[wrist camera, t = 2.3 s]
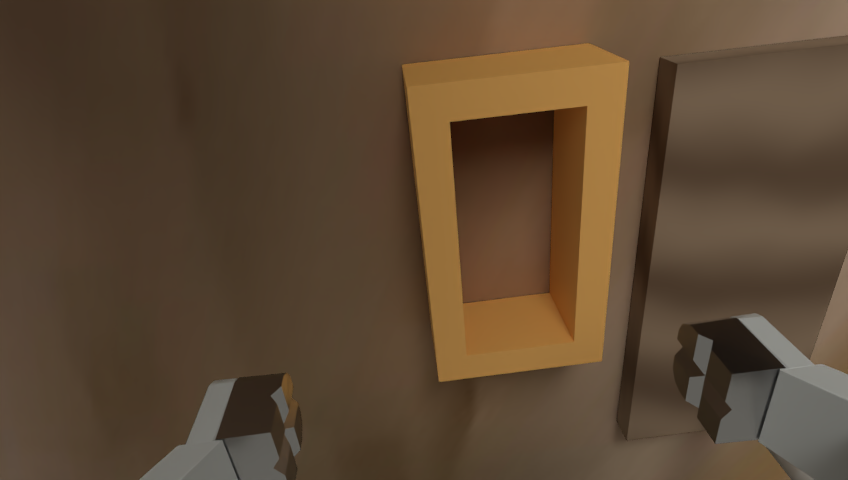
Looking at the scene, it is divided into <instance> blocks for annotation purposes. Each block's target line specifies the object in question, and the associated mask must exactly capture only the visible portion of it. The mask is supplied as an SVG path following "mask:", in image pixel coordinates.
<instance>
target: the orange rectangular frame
mask: <svg viewBox="0 0 848 480" xmlns="http://www.w3.org/2000/svg"><path fill="white" fill-rule="evenodd" d="M402 71H403V80H404V89H405V98H406V107H407V116H408V125H409V134H410V143H411V152H412V161H413V169H414V178H415V187H416V196H417V205H418V214H419V223H420V232H421V241H422V250H423V259H424V268H425V277H426V285H427V294H428V303H429V312H430V321H431V330H432V337H433V344H434V351H435V358H436V365H437V371H438V378H439V382H443V381H451V380H459V379H467V378H474V377H482V376H490V375H498V374H506V373H513V372H521V371H529V370H537V369H545V368H552V367H560V366H568V365H576V364H584V363H591V362H599V361H602V354H603V343H604V332H605V322H606V311H607V300H608V289H609V278H610V267H611V256H612V245H613V234H614V224H615V213H616V202H617V191H618V180H619V169H620V158H621V147H622V137H623V126H624V115H625V104H626V93H627V82H628V71H629V61H628V60H625V59H623V58H621V57H619V56H617V55H614V54H612V53H610V52H608V51H605V50H603V49H601V48H599V47H597V46H594V45H592V44H590V43H585V44H577V45H568V46H559V47H551V48H542V49H533V50H524V51H516V52H507V53H498V54H489V55H481V56H472V57H463V58H454V59H446V60H437V61H428V62H419V63H411V64H402ZM548 110H554V132H553V171H552V210H551V249H550V288H549V293H543V294H535V295H527V296H519V297H511V298H503V299H495V300H487V301H479V302H471V303H463V297H462V283H461V269H460V256H459V242H458V228H457V214H456V201H455V187H454V173H453V159H452V146H451V132H450V122H454V121H463V120H471V119H480V118H488V117H497V116H505V115H514V114H522V113H531V112H540V111H548Z"/></svg>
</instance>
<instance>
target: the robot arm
mask: <svg viewBox="0 0 848 480" xmlns="http://www.w3.org/2000/svg"><path fill="white" fill-rule="evenodd" d="M677 340H678V341H679V342H680V344H681V345H682V346H683V347H682V348H681V349H680V350H679V351H678V352H677V353H676V354H675V355H674V361H673V373H674V379H675V383H676V385H677V387H678V390H679V392H680V393H681V395H682V396H683V398H684V399H685V401H687V402H689V403H690V404H692V405H694V406H696V407H698V408H699V409H698V414H697V418H698V420H699V421H700V423H701V424H702V426H703V427H704V428H705V430H706V431H707V433H708V434H709V436H710V437H711V439H712V440H713V441H714V443H715V444H718V443H728V442H738V441H748V440H758V439H759V441H758V442H760V443H761V444H763V445H764V446H766V447H767V448H769V449H770V450H772V451H773V452H774V453H776V454H777V455H779V456H780V457H782V458H783V459H785V460H786V461H788V462H789V463H791V464H792V465H794V466H795V467H797V468H798V469H800V470H801V471H803V472H804V473H806V474H807V475H809V476H810V477H812V478H813V479H815V480H848V374H845V373H843V372H840V371H838V370H836V369H833V368H831V367H828V366H826V365H823V364H819V365H814V364H813V363H812V362H811V361H810V360H809V359H808V358H807V357H806V356H805V355H803V354H802V353H801V352H800V351H799V350H798V349H797V348H796V347H795V346H794V345H793V344H792V343H791V342H790V341H789V340H787V339H786V338H785V337H784V336H783V335H782V334H781V333H780V332H779V331H778V330H777V329H776V328H775V327H774V326H773V325H771V324H770V323H769V322H768V321H767V320H766V319H765V318H764V317H763V316H761V315H759V314H756V313H753V314H746V315H739V316H732V317H730V318H721V319H713V320H706V321H698V322H690V323H683V324H682V325H681V327H680V328H679V331H678V337H677ZM292 393H293V384H292V381H291V378H290V375H289V374H287V373H279V374H269V375H259V376H249V377H239V378H234V379H224V380H214V381H213V382H212V383H211V384H210V385H209V387H208V389H207V392H206V394H205V397H204V399H203V402H202V404H201V407H200V409H199V412H198V414H197V417H196V419H195V422H194V424H193V427H192V429H191V432H190V434H189V437H188V439H187V442H186V444H185V445H178V446H177V447H176V448H174V449H173V450H172V451H171V452H170V453H169V454H168V455H167V456H165V457H164V458H163V459H162V460H161V461H160V462H159V463H157V464H156V465H155V466H154V467H153V468H152V469H151V470H149V471H148V472H147V473H146V474H145V475H144V476H143V477H141V478H140V479H139V480H296V475H297V469H298V468H297V465H296V462H295V458H294V456H295V455H296V454H297V453H298V452H299V451H300V450H301V443H302V418H301V411H300V408H299V404H298V402H296V401H295V400H293V399H292Z"/></svg>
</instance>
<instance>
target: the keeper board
mask: <svg viewBox="0 0 848 480" xmlns="http://www.w3.org/2000/svg"><path fill="white" fill-rule="evenodd" d="M847 250H848V36H839V37H831V38H822V39H813V40H805V41H796V42H787V43H779V44H770V45H761V46H753V47H744V48H735V49H727V50H718V51H709V52H701V53H692V54H683V55H675V56H666V57H660V62H659V71H658V79H657V88H656V96H655V105H654V113H653V121H652V130H651V138H650V147H649V155H648V163H647V172H646V180H645V189H644V197H643V205H642V214H641V222H640V231H639V239H638V247H637V256H636V264H635V273H634V281H633V289H632V298H631V306H630V315H629V323H628V332H627V340H626V348H625V357H624V365H623V374H622V382H621V390H620V399H619V407H618V416H617V422H618V424H619V426H620V428H621V430H622V432H623V434H624V436H625V438H626V440H627V441H628V440H636V439H643V438H651V437H658V436H666V435H674V434H681V433H689V432H696V431H704V430H705V428H704V427H703V426H702V424H701V423H700V421H699V420H698V418H697V414H698V409H699V408H698V407H696V406H694V405H692V404H690V403H689V402H687V401H685V399H684V398H683V396H682V395H681V393H680V392H679V390H678V387H677V385H676V383H675V379H674V373H673V361H674V355H675V354H676V353H677V352H678V351H679V350H680V349H681V348H682V347H683V346H682V345H681V344H680V342H679V341H678V340H677V337H678V331H679V328H680V327H681V325H682V324H683V323H690V322H698V321H706V320H713V319H721V318H730V317H732V316H739V315H746V314H753V313H756V314H759V315H761V316H763V317H764V318H765V319H766V320H767V321H768V322H769V323H770V324H771V325H773V326H774V327H775V328H776V329H777V330H778V331H779V332H780V333H781V334H782V335H783V336H784V337H785V338H786V339H787V340H789V341H790V342H791V343H792V344H793V345H794V346H795V347H796V348H797V349H798V350H799V351H800V352H801V353H802V354H803V355H805V356H806V357H807V358H808V359H809V360H810V358H811V355H812V352H813V349H814V346H815V343H816V340H817V337H818V334H819V331H820V329H821V326H822V323H823V320H824V317H825V314H826V311H827V308H828V305H829V303H830V300H831V297H832V294H833V291H834V288H835V285H836V282H837V279H838V276H839V274H840V271H841V268H842V265H843V262H844V259H845V256H846V253H847ZM766 448H767V447H766ZM767 449H768V450H769V451H770V453H771V454H772V455H773V457H774V458H775V459H776V460H777V462H778V463H779V464H780V466H781V467H782V468H783V469H784V471H785V472H786V473H787V474H788V476H789V477H790V478H791V480H815V479H813V478H812V477H810V476H809V475H807V474H806V473H804V472H803V471H801V470H800V469H798V468H797V467H795V466H794V465H792V464H791V463H789V462H788V461H786V460H785V459H783V458H782V457H780V456H779V455H777V454H776V453H774V452H773V451H772V450H770V449H769V448H767Z"/></svg>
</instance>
